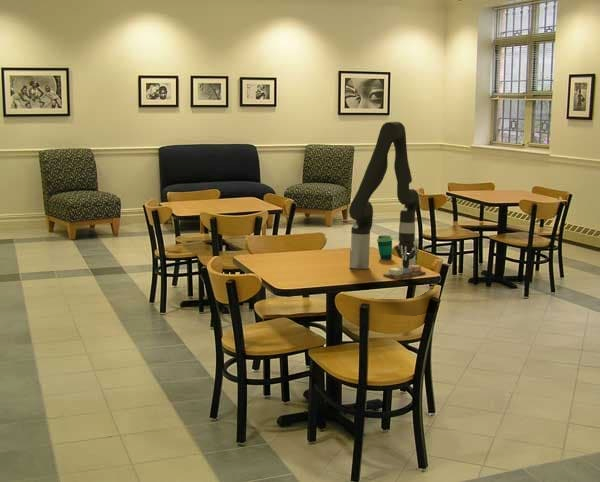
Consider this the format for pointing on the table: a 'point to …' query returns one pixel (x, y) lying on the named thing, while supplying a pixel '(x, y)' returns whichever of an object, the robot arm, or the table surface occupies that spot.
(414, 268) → the key terracotta
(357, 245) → the robot arm
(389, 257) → the cup
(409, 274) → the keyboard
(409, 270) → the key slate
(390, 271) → the key cream
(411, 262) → the syrup box
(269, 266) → the table surface
